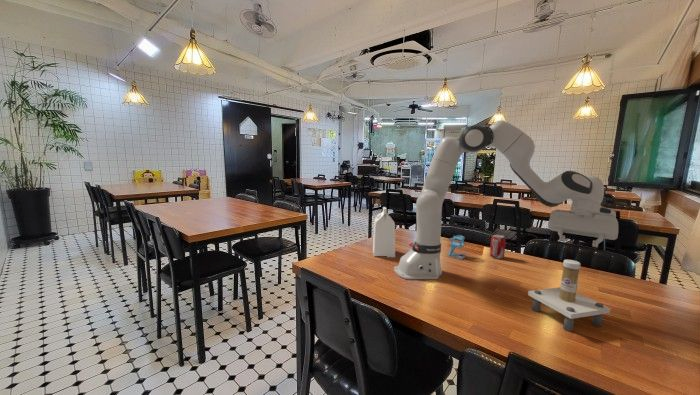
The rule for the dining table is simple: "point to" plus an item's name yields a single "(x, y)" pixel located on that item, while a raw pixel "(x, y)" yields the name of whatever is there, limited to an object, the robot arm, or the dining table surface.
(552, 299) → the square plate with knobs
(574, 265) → the sprinkles bottle
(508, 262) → the dining table surface
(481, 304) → the dining table surface
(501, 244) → the soda can
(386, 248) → the milk
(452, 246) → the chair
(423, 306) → the dining table surface
